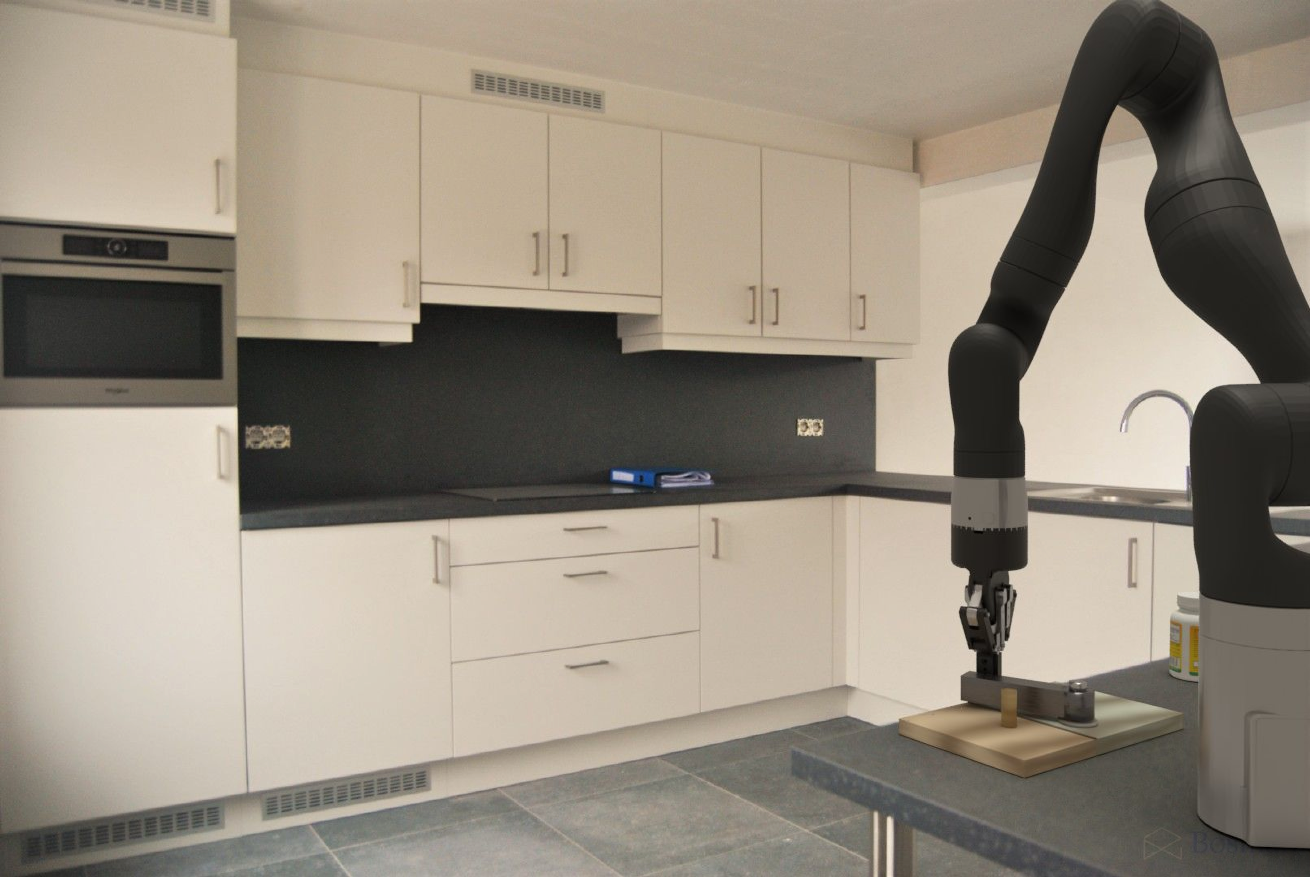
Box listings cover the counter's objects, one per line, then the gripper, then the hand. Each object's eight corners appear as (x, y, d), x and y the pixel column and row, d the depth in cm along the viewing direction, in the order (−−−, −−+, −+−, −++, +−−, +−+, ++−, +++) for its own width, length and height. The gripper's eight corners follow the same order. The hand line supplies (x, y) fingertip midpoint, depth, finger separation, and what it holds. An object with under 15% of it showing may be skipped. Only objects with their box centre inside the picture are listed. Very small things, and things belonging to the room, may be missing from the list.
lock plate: (1183, 728, 103) (1183, 678, 102) (1024, 777, 89) (1024, 720, 89) (1055, 694, 115) (1055, 650, 115) (898, 733, 102) (898, 683, 101)
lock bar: (1098, 715, 100) (1098, 680, 100) (1089, 722, 98) (1090, 687, 98) (970, 694, 108) (970, 662, 108) (959, 701, 105) (959, 668, 105)
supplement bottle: (1161, 676, 122) (1161, 594, 122) (1182, 668, 125) (1182, 588, 125) (1209, 685, 118) (1210, 600, 118) (1229, 677, 121) (1230, 594, 121)
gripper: (971, 511, 115) (971, 668, 116) (932, 525, 104) (932, 698, 105) (1042, 515, 111) (1042, 677, 112) (1009, 530, 100) (1009, 710, 100)
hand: (988, 687), depth 108 cm, fingers closed
